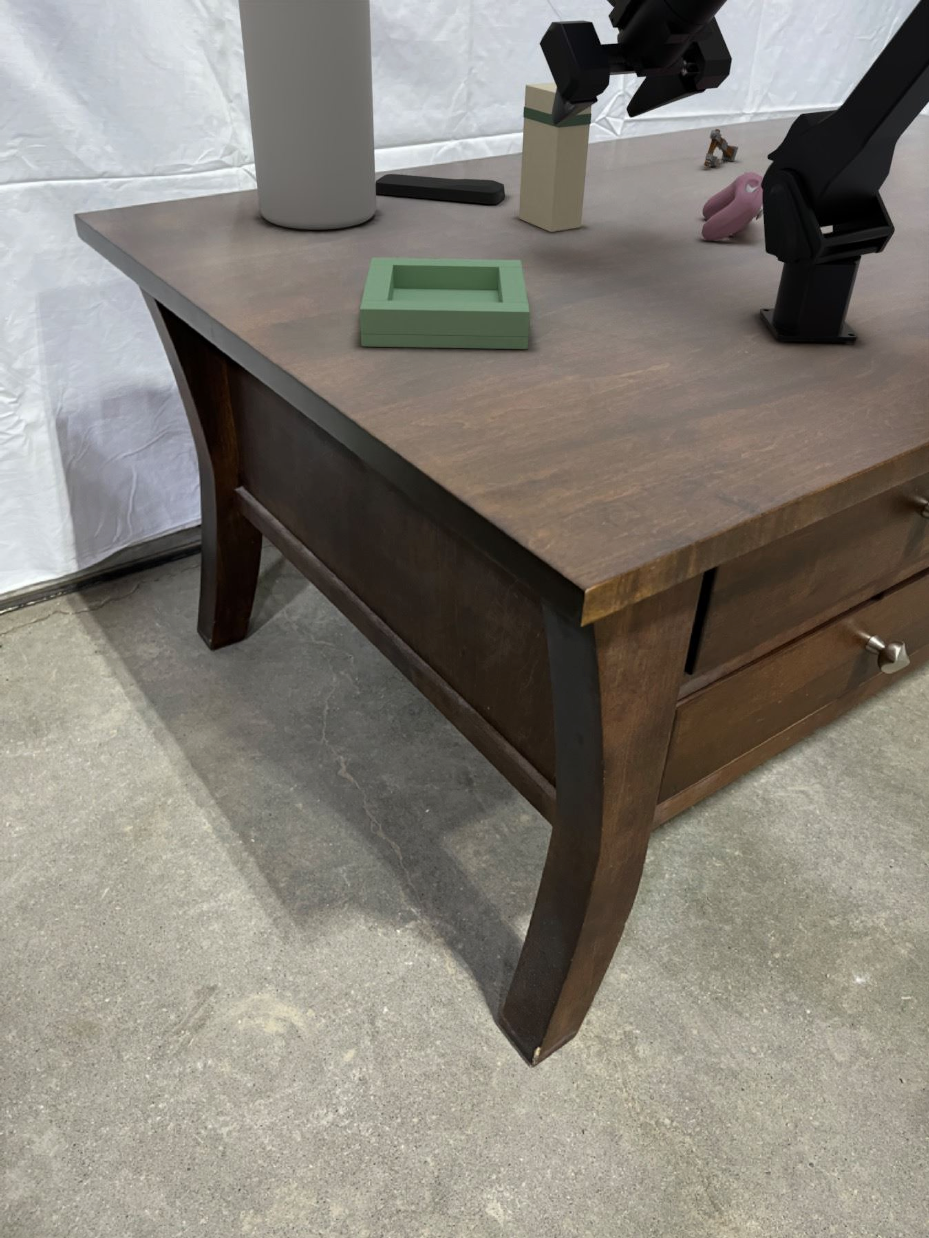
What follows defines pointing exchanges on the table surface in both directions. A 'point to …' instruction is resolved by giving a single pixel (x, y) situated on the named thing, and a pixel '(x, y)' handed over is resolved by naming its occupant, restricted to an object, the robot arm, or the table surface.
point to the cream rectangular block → (552, 162)
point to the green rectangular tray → (445, 304)
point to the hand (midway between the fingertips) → (592, 117)
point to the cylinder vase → (311, 110)
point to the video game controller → (733, 207)
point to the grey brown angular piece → (721, 143)
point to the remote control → (441, 188)
